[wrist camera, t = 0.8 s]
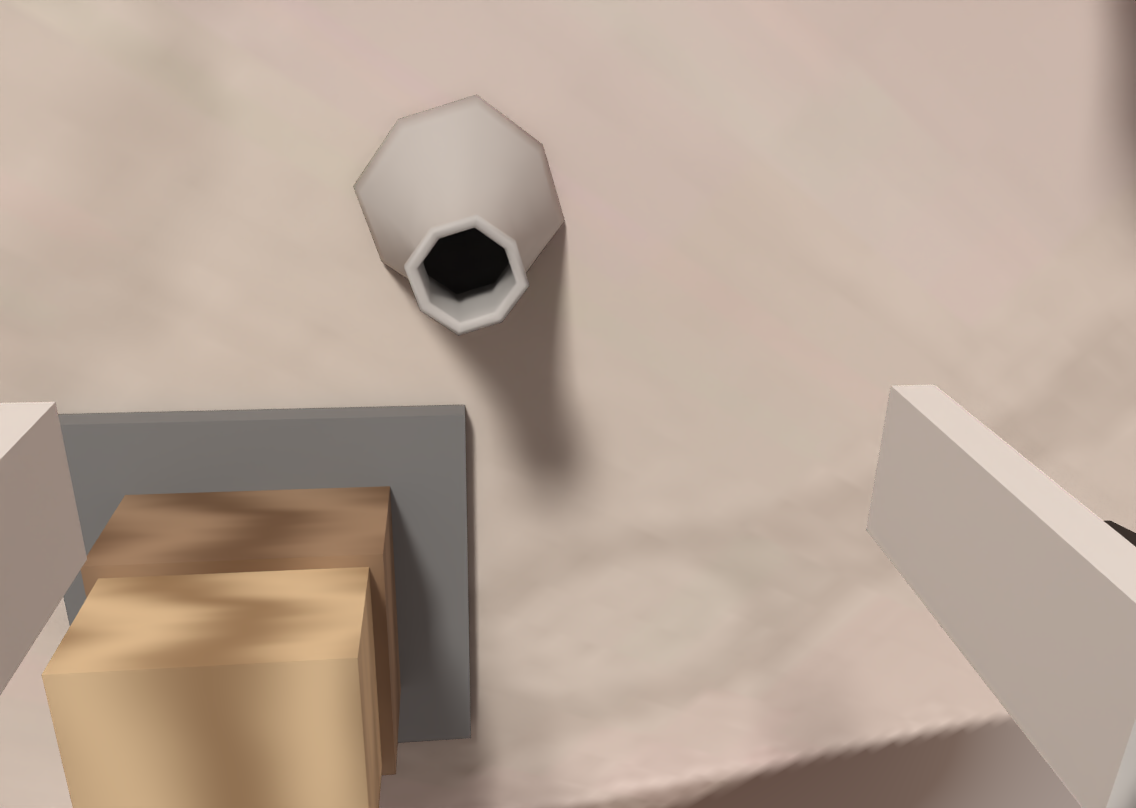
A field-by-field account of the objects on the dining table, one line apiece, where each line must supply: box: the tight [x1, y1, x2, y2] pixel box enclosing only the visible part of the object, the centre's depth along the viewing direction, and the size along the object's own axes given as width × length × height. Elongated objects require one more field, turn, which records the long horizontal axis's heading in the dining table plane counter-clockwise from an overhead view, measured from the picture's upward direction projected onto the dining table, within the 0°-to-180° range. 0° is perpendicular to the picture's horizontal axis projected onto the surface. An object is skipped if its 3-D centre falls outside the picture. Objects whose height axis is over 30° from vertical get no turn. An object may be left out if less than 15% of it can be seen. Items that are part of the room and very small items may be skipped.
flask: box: [353, 95, 565, 336], centre depth 30 cm, size 7×7×10 cm
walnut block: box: [81, 486, 401, 775], centre depth 37 cm, size 10×10×5 cm
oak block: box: [42, 567, 382, 808], centre depth 32 cm, size 9×9×5 cm
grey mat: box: [58, 405, 471, 743], centre depth 40 cm, size 16×16×1 cm
